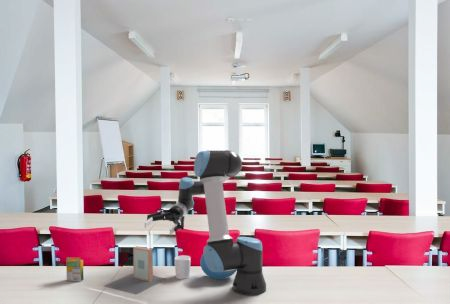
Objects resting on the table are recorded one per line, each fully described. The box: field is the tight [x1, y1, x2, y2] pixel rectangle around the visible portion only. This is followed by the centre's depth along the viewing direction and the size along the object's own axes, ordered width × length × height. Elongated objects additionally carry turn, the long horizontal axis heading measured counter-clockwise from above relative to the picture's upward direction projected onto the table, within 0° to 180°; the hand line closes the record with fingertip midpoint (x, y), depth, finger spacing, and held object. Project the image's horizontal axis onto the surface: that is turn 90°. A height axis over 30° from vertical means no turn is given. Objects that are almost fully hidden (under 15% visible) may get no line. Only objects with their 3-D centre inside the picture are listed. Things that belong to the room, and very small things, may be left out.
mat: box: [104, 272, 168, 295], centre depth 188 cm, size 20×22×1 cm
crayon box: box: [65, 256, 84, 282], centre depth 193 cm, size 7×3×12 cm, turn 84°
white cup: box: [174, 254, 192, 280], centre depth 195 cm, size 8×8×10 cm
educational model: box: [199, 254, 237, 280], centre depth 195 cm, size 16×19×15 cm
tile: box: [132, 246, 154, 282], centre depth 192 cm, size 10×2×15 cm, turn 61°
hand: (157, 228), depth 192 cm, fingers open, 13 cm apart
